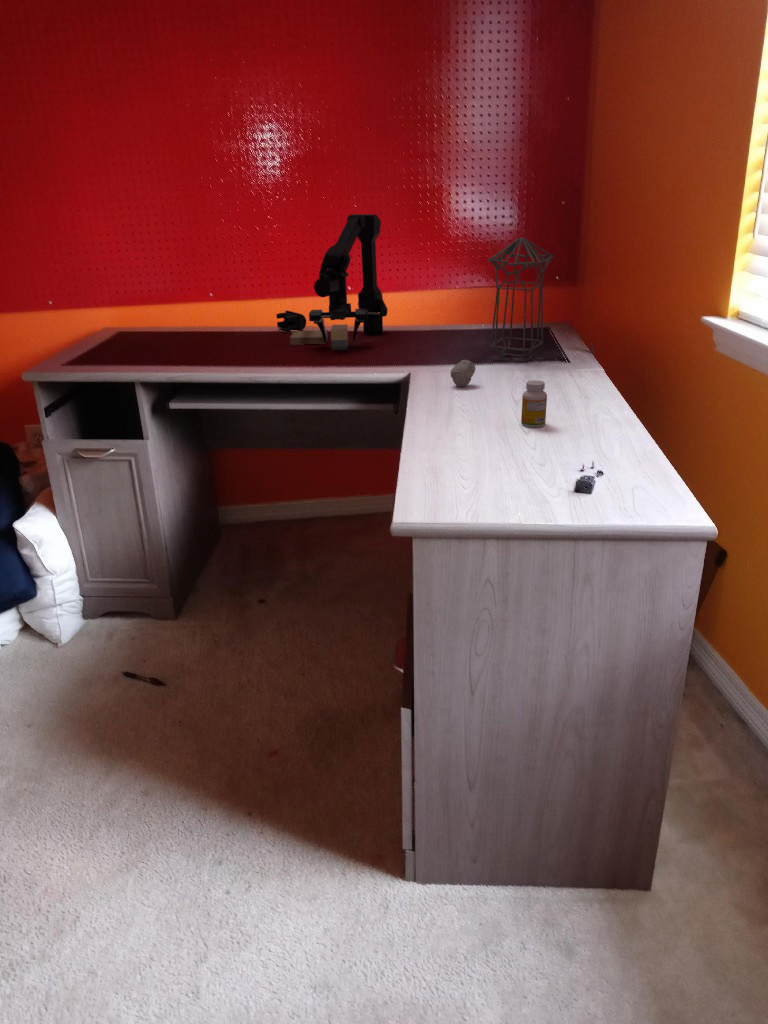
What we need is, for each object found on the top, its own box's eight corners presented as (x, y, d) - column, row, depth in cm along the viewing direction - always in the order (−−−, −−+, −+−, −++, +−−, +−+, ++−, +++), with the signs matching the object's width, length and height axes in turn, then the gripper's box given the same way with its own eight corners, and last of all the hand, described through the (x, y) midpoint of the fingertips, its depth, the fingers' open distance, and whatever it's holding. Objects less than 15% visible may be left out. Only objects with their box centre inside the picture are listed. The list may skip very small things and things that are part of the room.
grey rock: (479, 386, 209) (480, 360, 206) (458, 390, 206) (458, 364, 203) (466, 382, 213) (467, 356, 211) (445, 385, 210) (445, 359, 208)
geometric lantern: (548, 356, 241) (556, 235, 226) (531, 368, 228) (539, 241, 213) (499, 351, 247) (504, 233, 232) (481, 362, 235) (485, 239, 220)
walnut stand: (328, 337, 274) (327, 330, 273) (325, 344, 263) (325, 337, 262) (293, 338, 274) (293, 331, 273) (290, 345, 263) (289, 337, 262)
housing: (348, 345, 261) (347, 324, 258) (347, 350, 254) (346, 328, 251) (333, 346, 261) (332, 324, 258) (331, 351, 254) (330, 329, 251)
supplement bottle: (524, 420, 181) (526, 378, 177) (547, 422, 179) (550, 380, 175) (518, 427, 176) (520, 384, 172) (542, 429, 174) (545, 386, 170)
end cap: (307, 331, 285) (306, 312, 282) (289, 334, 281) (288, 315, 278) (294, 328, 292) (292, 309, 290) (277, 330, 289) (275, 311, 286)
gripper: (306, 297, 243) (309, 347, 249) (366, 295, 243) (368, 346, 249) (309, 291, 253) (312, 340, 259) (367, 290, 253) (368, 339, 259)
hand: (339, 341), depth 256 cm, fingers open, 9 cm apart
